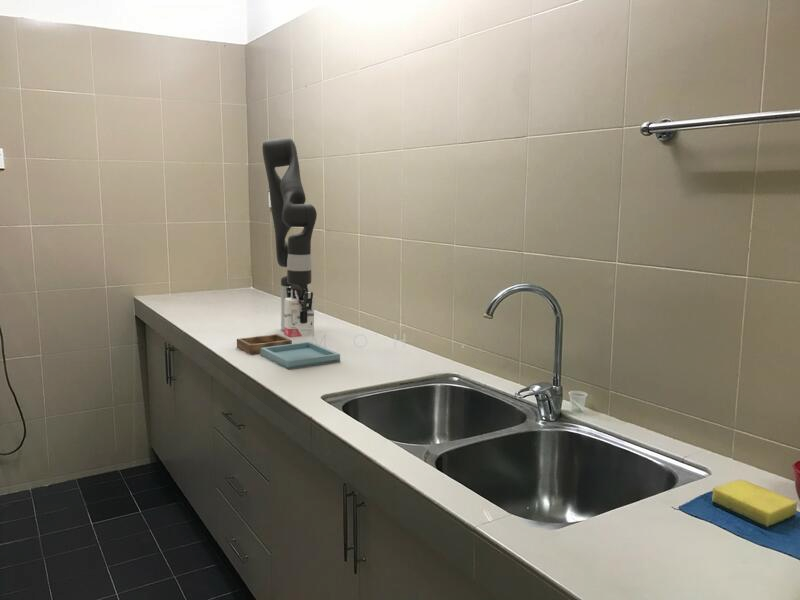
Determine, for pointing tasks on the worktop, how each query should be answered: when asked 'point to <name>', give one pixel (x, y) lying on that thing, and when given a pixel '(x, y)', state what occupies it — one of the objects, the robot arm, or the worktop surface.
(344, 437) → the worktop surface
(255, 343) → the holder
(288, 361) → the tray
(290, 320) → the ink box
